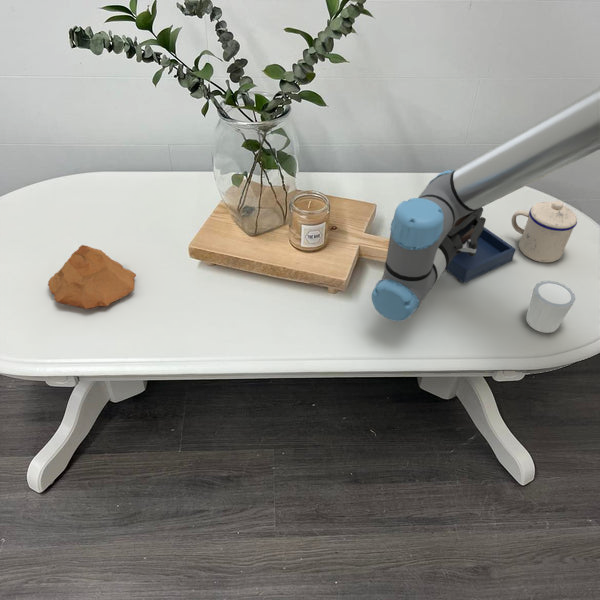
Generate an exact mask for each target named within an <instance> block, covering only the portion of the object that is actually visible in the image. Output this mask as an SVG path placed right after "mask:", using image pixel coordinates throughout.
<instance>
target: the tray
mask: <svg viewBox="0 0 600 600" xmlns="http://www.w3.org/2000/svg"><path fill="white" fill-rule="evenodd" d="M516 251H517V248H515V247H514V246H512V245H511V244H510V243H508V242H507V241H505V240H504V239H502V238H501V237H499V236H498V235H497V234H495V233H494V232H492V231H491V230H489V229H488V228H486V227H485V226H484V228H483V231H482V233H481V235H480V237H479V239H478V246H477V250H476V253H475V256H470V255H469V254H468V252H461V253H460V254H458V255H455V256H454V258H453V259H452V261H451V262H450V263H449V265H448V266H447V268H446V269H445V270H447V271H448V272H449V273H450V274H451V275H453V276H454V277H455V278H456V279H458V280H459V281H460V282H461V283H463V284H464V283H467V282H468V281H471V280H473V279H475V278H477V277H479V276H482V275H485V274H486V273H488V272H490V271H493V270H495V269H497V268H499V267H501V266H504V265H505V264H509V263H510V262H512V261H513V259H514V256H515V253H516Z"/></svg>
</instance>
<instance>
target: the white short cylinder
mask: <svg viewBox="0 0 600 600" xmlns="http://www.w3.org/2000/svg"><path fill="white" fill-rule="evenodd" d="M575 301H576V296H575V293H574V292H573V291H572V289H571V288H569V287H568V286H566V285H565V284H563V283H560V282H559V281H552V280H544V281H543V280H542V281H540V282H537V283H536V284H535V286H534V288H533V291H532V295H531V297H530V302H529V305H528V309H527V312H526V316H525V320H526V323H527V324H528V326H530V327H531V328H532V329H533V330H535V331H537V332H540V333H544V334H545V333H546V334H550V333H554V332H556V331H557V330H558V328H559V327H560V325H561V323H562V322H563V321H564V319H565V317H566V316H567V315H568V313H569V311H570V310H571V308H572V307H573V305H574V303H575Z"/></svg>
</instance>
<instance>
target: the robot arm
mask: <svg viewBox="0 0 600 600" xmlns="http://www.w3.org/2000/svg"><path fill="white" fill-rule="evenodd" d="M599 150H600V86H598V87H596V88H595V89H593V90H591V91H588V93H586V94H584V95H582V96H581V97H579V98H577V99H575V100H574V101H572V102H570V103H569V104H567V105H565V106H563V107H562V108H560V109H558V110H556V111H555V112H553V113H551V114H549V115H548V116H546V117H545V118H542V119H541V120H539V121H537V122H535V123H534V124H532V125H530V126H528V127H527V128H525V129H523V130H522V131H520V132H518V133H516V134H514V135H513V136H511V137H509V138H508V139H506V140H504V141H503V142H501V143H499V144H497V145H495V146H493V147H492V148H491V149H489V150H487V151H485V152H484V153H481V154H480V155H478V156H477V157H475V158H473V159H471V160H470V161H468V162H467V163H464V164H462V165H460V166H459V167H458V168H455V169H450V170H449V169H448V170H444V171H441V172H440V173H439V174H437V175H436V176H435V177H434V178H433V179H431V180H430V181H429V182H428V184H427V185H426V187H425V188H424V190H423V191H422V192H421V193H420V194H419V196H418V197H413V198H409V199H408V200H403V201H402V202H400V203H398V205H397V206H396V208H395V210H394V215H393V217H392V220H391V223H390V228H389V229H390V234H389V241H388V248H387V254H386V260H385V263H384V268H383V274H382V277H381V279H380V280H378V281H377V283H376V285H375V286H374V289H373V290H372V293H371V303H372V305H373V307H374V309H375V310H376V311H377V312H378V314H380V316H382V317H384V318H387V320H390V321H395V322H402V321H406V320H407V319H409V318H410V317H411V316H412V314H414V312H415V311H416V310H418V309H419V308H420V304H422V302H423V301H424V299H425V298H426V296H427V295H428V294H429V292H430V291H431V290H432V288H433V287H434V285H435V284H436V282H437V281H438V279H439V278H440V277H441V276H442V275H443V273H444V271H445V270H447V269H446V268H447V266H448V265H449V263H450V262H451V261H452V259H453V258H454V256H455V255H458V254H460V253H461V252H468V254H469V255H470V256H475V253H476V250H477V246H478V242H477V241H478V239H479V237H480V235H481V233H482V231H483V228H484V227H485V224H486V220H487V219H486V217H483V216H482V215H483V212H484V207H486V206H487V205H489V204H491V203H493V202H496V201H498V200H500V199H502V198H503V197H506V196H508V195H509V194H512V193H514V192H515V191H518V190H520V189H522V188H524V187H526V186H529V185H531V184H532V183H534V182H536V181H538V180H540V179H542V178H544V177H547V176H549V175H550V174H553V173H555V172H557V171H558V170H560V169H563V168H564V167H565V168H566V167H567V166H569V165H571V164H573V163H575V162H577V161H579V160H581V159H583V158H585V157H587V156H590V155H592V154H594V153H596V152H597V151H599ZM468 214H469V215H468ZM465 215H468V217H467V218H466V219H465V220H464V221H463V222H462V223H460V224H459V225H458V226H455V227H454V228H453V229H452V230H451V228H452V227H453V226H454V224H455V223H456V221H457V220H458V219H460V218H461V217H463V216H465ZM475 226H476V227H475ZM472 228H475V229H474V231H473V233H472V235H471V238H470V239H469V240H468V242H466V243H465V244H462V242H461V240H460V239H461V238H462V237H463V236H464V235H465V234H466V233H467V232H469V231H470V230H471V229H472Z"/></svg>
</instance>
